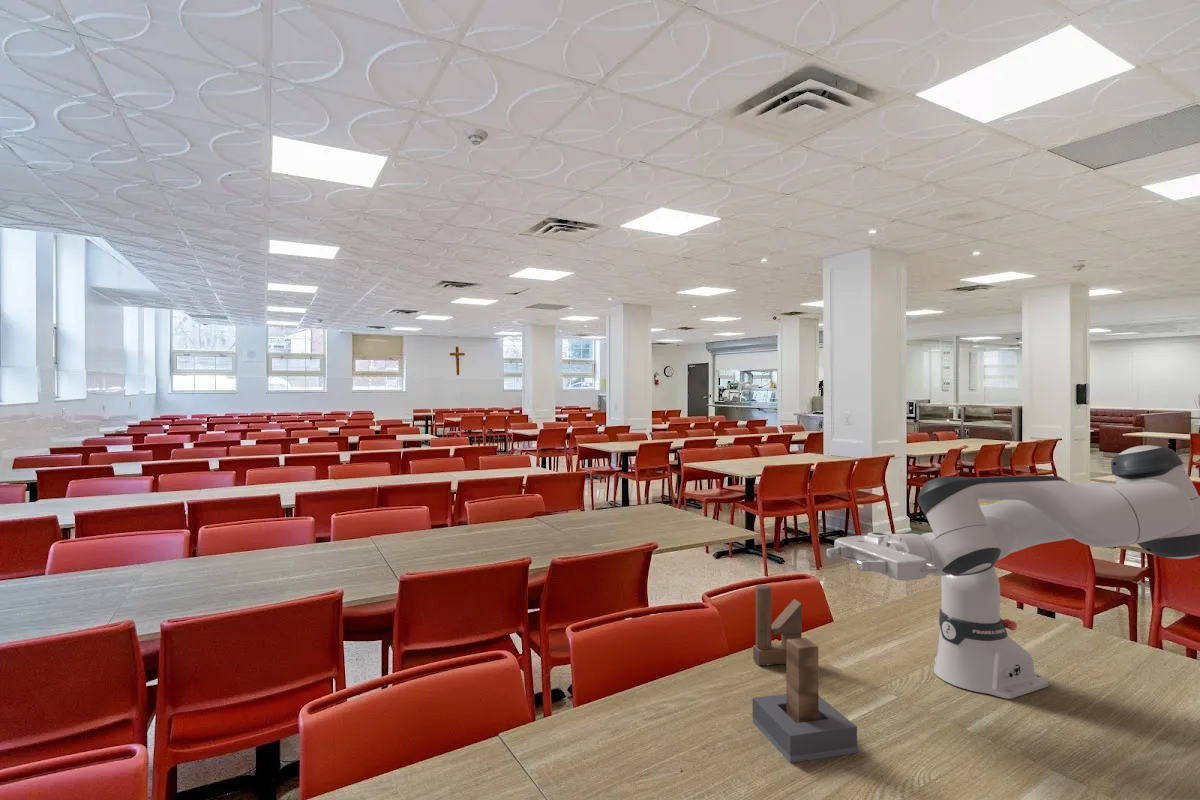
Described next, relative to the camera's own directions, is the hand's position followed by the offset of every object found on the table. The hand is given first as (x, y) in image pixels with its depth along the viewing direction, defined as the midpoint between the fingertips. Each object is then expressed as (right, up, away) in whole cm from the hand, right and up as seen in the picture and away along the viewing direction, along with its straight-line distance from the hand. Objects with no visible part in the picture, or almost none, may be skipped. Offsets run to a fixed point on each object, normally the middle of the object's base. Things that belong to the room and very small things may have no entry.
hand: (843, 559), depth 112 cm
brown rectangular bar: (-12, -29, -9) cm, 32 cm away
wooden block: (-6, -31, +22) cm, 38 cm away
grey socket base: (-12, -30, -9) cm, 33 cm away
